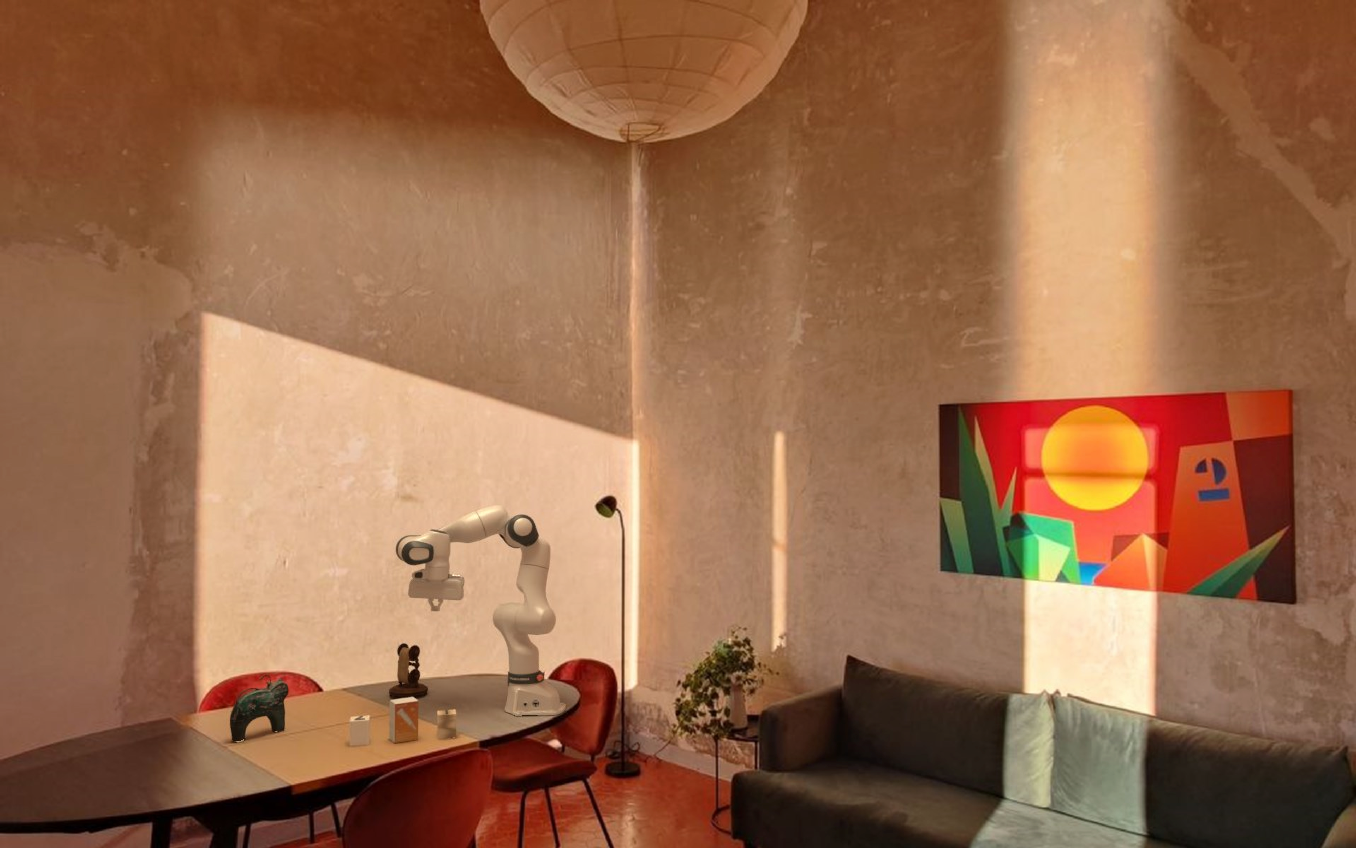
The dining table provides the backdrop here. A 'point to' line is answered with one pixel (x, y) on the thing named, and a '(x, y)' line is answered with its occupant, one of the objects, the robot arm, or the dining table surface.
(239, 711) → the bronze animal figurine
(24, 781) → the dining table surface
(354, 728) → the off-white block
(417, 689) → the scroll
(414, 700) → the small box
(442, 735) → the beech block
